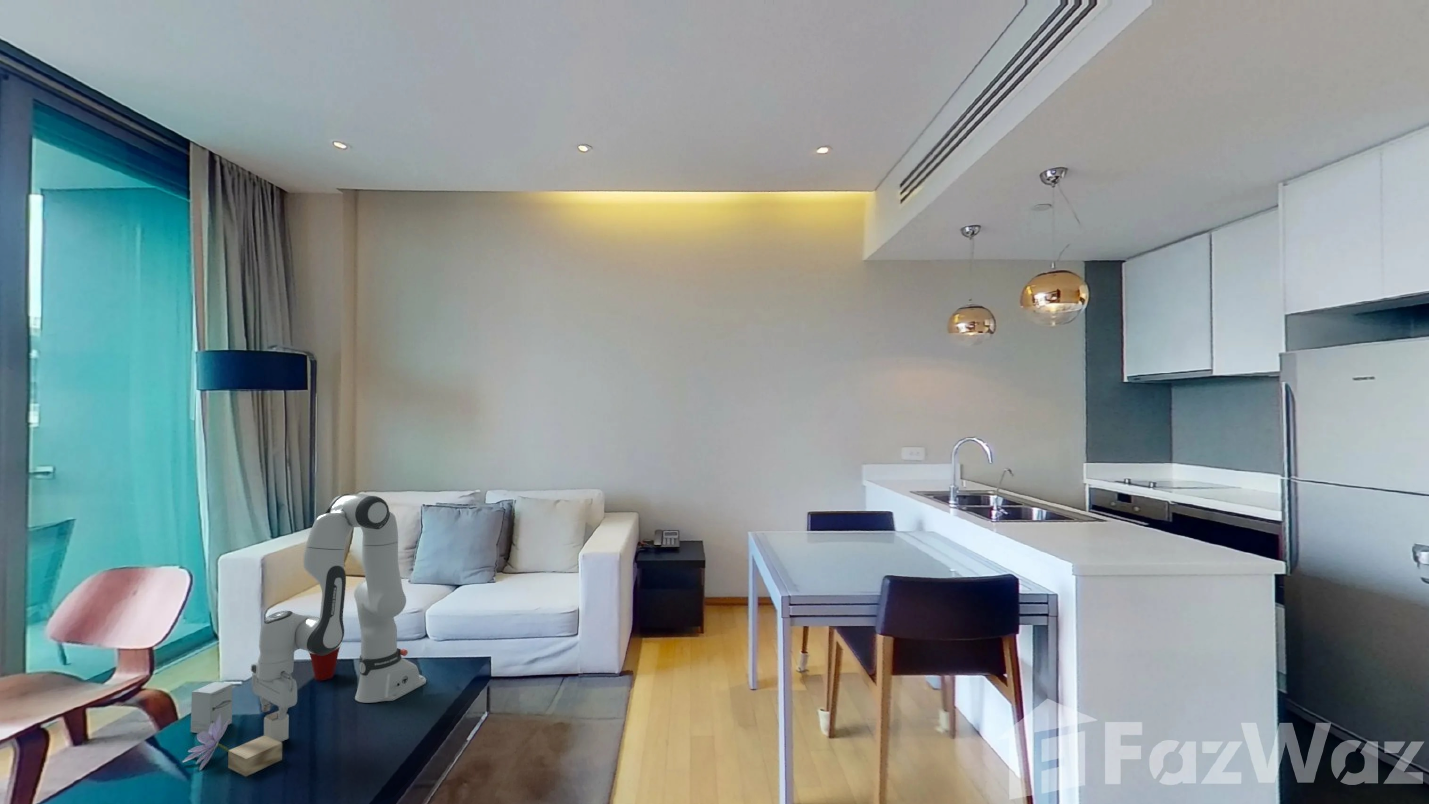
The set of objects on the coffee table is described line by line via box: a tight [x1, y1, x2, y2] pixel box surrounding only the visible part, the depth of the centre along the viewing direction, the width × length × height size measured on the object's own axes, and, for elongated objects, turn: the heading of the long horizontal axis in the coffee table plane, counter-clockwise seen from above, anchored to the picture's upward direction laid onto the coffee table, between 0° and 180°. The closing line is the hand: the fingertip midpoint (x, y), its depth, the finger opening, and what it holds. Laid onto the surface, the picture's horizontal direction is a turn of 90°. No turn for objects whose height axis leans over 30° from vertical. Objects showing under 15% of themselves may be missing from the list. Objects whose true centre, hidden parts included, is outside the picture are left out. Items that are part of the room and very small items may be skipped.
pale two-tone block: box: [263, 710, 290, 742], centre depth 183 cm, size 5×5×8 cm
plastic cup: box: [307, 641, 343, 681], centre depth 226 cm, size 11×11×12 cm
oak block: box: [227, 734, 283, 777], centre depth 171 cm, size 9×9×5 cm
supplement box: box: [190, 681, 234, 734], centre depth 190 cm, size 7×7×13 cm
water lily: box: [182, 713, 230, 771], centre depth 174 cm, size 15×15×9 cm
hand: (273, 714), depth 182 cm, fingers open, 8 cm apart
